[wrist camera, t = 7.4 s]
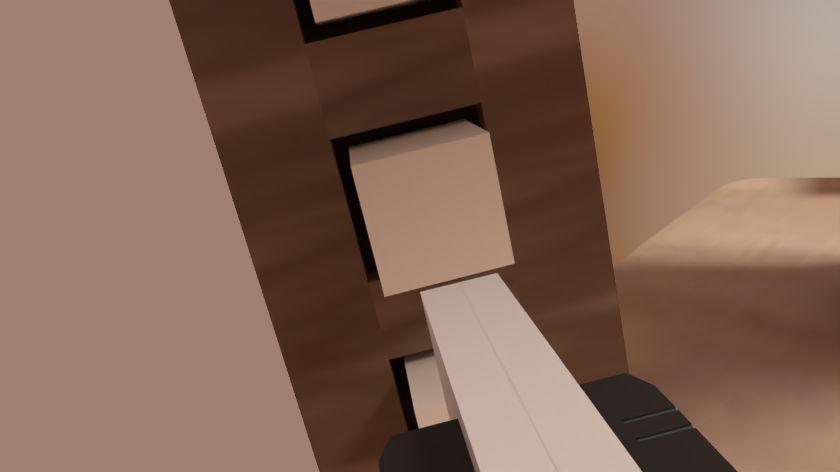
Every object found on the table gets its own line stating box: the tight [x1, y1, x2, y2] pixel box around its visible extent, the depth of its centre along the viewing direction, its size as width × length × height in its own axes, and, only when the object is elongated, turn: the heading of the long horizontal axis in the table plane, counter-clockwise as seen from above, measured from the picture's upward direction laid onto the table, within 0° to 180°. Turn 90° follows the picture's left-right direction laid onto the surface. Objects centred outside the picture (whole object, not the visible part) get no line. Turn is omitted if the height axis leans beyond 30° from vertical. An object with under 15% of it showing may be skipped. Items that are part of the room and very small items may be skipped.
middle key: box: [349, 119, 515, 297], centre depth 21 cm, size 4×4×4 cm
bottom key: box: [403, 349, 450, 428], centre depth 23 cm, size 4×4×4 cm
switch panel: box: [169, 0, 629, 472], centre depth 24 cm, size 5×12×31 cm, turn 97°
